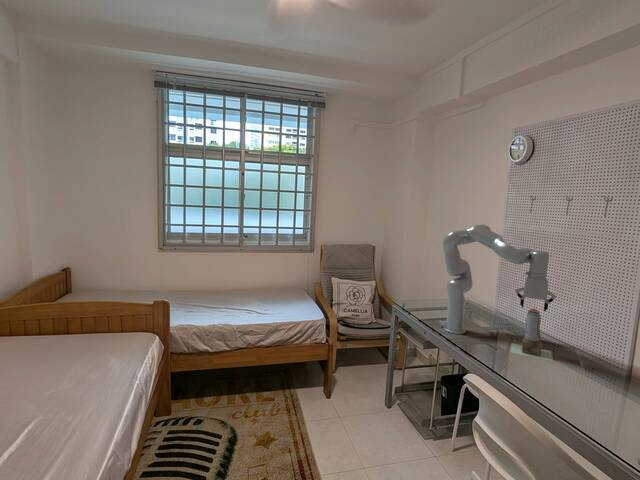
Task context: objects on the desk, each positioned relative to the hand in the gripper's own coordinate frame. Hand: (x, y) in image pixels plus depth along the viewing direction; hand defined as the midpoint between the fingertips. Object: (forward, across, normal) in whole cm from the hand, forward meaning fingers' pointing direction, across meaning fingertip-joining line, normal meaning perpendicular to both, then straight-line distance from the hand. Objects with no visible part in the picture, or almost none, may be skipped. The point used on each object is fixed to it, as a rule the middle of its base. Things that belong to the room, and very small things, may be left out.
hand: (533, 308), depth 171 cm
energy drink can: (+17, +1, 0) cm, 17 cm away
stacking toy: (+24, +2, +18) cm, 30 cm away
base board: (+24, +1, 0) cm, 24 cm away
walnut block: (+22, +1, 0) cm, 23 cm away
